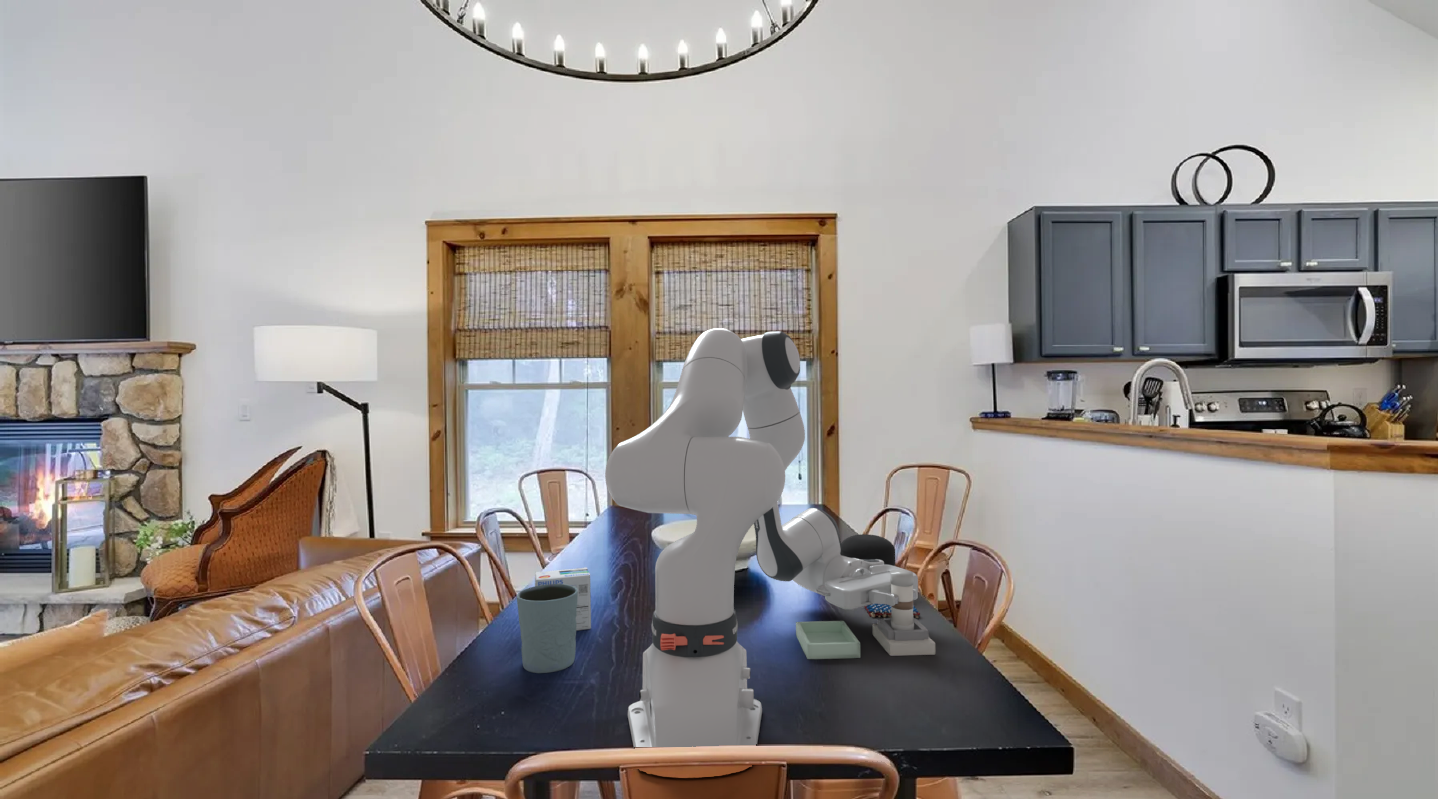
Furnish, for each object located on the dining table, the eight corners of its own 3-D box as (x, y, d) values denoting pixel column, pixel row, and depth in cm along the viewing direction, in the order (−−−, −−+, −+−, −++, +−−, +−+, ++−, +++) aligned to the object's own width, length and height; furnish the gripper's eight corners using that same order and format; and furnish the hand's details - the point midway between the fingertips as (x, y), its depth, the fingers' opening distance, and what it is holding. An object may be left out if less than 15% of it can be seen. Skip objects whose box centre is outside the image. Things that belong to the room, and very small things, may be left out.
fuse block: (935, 654, 105) (935, 634, 105) (890, 655, 104) (889, 635, 104) (913, 633, 115) (913, 614, 115) (872, 634, 114) (872, 615, 114)
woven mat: (921, 620, 123) (921, 610, 123) (869, 620, 124) (869, 610, 124) (908, 604, 134) (908, 595, 134) (860, 604, 134) (859, 594, 134)
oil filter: (860, 577, 154) (829, 587, 145) (859, 529, 154) (828, 536, 145) (906, 588, 144) (876, 599, 135) (905, 536, 145) (875, 545, 136)
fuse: (917, 636, 108) (916, 575, 108) (895, 637, 107) (894, 575, 108) (909, 628, 112) (908, 569, 112) (888, 629, 111) (887, 569, 112)
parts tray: (860, 657, 103) (860, 643, 104) (807, 659, 103) (807, 644, 103) (843, 633, 115) (843, 620, 115) (795, 635, 114) (795, 621, 114)
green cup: (572, 674, 98) (572, 600, 98) (508, 676, 97) (509, 601, 97) (582, 649, 108) (582, 582, 108) (524, 651, 107) (525, 583, 107)
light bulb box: (588, 618, 124) (588, 566, 125) (591, 629, 118) (591, 574, 118) (534, 624, 121) (534, 570, 121) (535, 636, 115) (535, 579, 115)
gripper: (810, 572, 115) (865, 590, 103) (883, 558, 126) (940, 572, 115) (811, 606, 115) (866, 627, 103) (884, 588, 126) (940, 605, 114)
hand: (905, 598), depth 109 cm, fingers closed on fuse, 4 cm apart
